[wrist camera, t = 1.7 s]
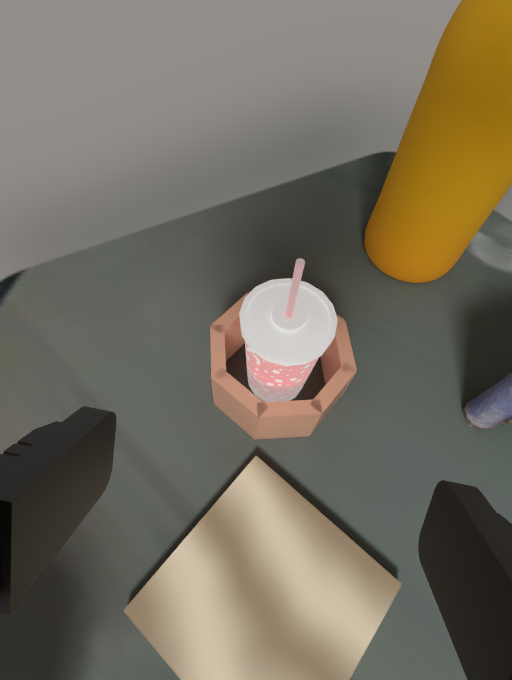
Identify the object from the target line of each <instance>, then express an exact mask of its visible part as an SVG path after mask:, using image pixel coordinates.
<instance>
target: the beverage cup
mask: <svg viewBox="0 0 512 680" xmlns="http://www.w3.org/2000/svg"><path fill="white" fill-rule="evenodd" d="M304 265H305V261H304V259H301V258H298V259H297V260H296V263H295V268H294V273H293V278H292V279H290V278H286V279H273V280H270V281H267V282H265V283H263V284H260V285H258V286H256V287H255V288H254V289H253V290H252V291H251V292H250V293H249V294H248V295H247V296H246V297H245V298H244V301H243V304H242V307H241V310H240V313H239V317H240V326H241V333H242V337H243V338H244V340H245V349H246V362H247V376H248V383H249V387H250V388H251V390H252V391H253V393H254V395H256V396H257V397H258V398H260V399H261V400H263V401H265V402H278V401H290V400H292V399H293V398H295V397H296V396H297V394H298V393H299V392H300V391H301V389H302V387H303V385H304V384H305V382H306V380H307V378H308V376H309V375H310V373H311V371H312V369H313V367H314V366H315V364H316V362H317V360H318V358H319V357H320V356H322V354H323V353H324V352H325V351H326V349H327V348H328V347H329V345H330V344H331V343H332V340H333V339H334V337H335V333H336V327H337V322H338V320H337V316H336V313H335V309H334V306H333V304H332V303H331V302H330V300H329V299H328V298H327V297H326V295H325V294H324V293H323V292H322V291H321V290H319V289H317V288H316V287H314V286H312V285H311V284H309V283H307V282H303V281H301V278H302V273H303V269H304Z"/></svg>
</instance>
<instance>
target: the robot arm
mask: <svg viewBox="0 0 512 680" xmlns="http://www.w3.org/2000/svg"><path fill="white" fill-rule="evenodd" d="M115 430H116V415H115V413H114V412H110V411H105V410H100V409H95V408H90V407H85V406H84V407H81V408H80V409H79V410H77V411H76V412H75V413H73V414H72V415H71V416H69V417H68V418H67V419H66V420H64V421H63V422H57V421H56V422H53V423H51V424H48V425H45V426H43V427H40V428H37V429H34V430H33V431H32V432H30V433H29V434H27V435H26V436H25V437H23V438H22V439H20V440H19V441H18V443H17V444H13V445H12V446H11V447H9V448H8V449H6V450H5V451H4V453H3V454H0V612H1V613H5V614H11V613H12V611H13V610H14V609H15V608H16V606H17V605H18V604H19V602H20V601H21V600H22V598H23V597H24V596H25V594H26V593H27V592H28V591H29V589H30V588H31V587H32V585H33V584H34V583H35V581H36V580H37V579H38V577H39V576H40V575H41V574H42V572H43V571H44V570H45V568H46V567H47V566H48V564H49V563H50V562H51V560H52V559H53V558H54V557H55V555H56V554H57V553H58V551H59V550H60V549H61V547H62V546H63V545H64V543H65V542H66V541H67V540H68V538H69V537H70V536H71V534H72V533H73V532H74V530H75V529H76V528H77V526H78V525H79V524H80V523H81V521H82V520H83V519H84V517H85V516H86V515H87V513H88V512H89V511H90V509H91V508H92V507H93V506H94V504H95V503H96V502H97V500H98V499H99V498H100V496H101V495H102V494H103V492H104V490H105V489H106V487H107V484H108V482H109V479H110V475H111V471H112V464H113V453H114V442H115ZM418 549H419V558H420V562H421V565H422V567H423V570H424V572H425V575H426V577H427V580H428V582H429V585H430V587H431V590H432V592H433V595H434V597H435V600H436V602H437V605H438V607H439V610H440V612H441V615H442V617H443V620H444V622H445V625H446V627H447V630H448V632H449V635H450V637H451V640H452V642H453V645H454V647H455V650H456V652H457V655H458V657H459V660H460V662H461V665H462V667H463V670H464V672H465V674H466V677H467V679H468V680H512V524H511V523H510V522H509V521H507V520H506V519H505V518H504V517H502V516H501V515H500V514H498V513H496V511H495V510H494V509H493V507H492V506H491V505H490V503H489V502H488V501H487V499H486V498H485V497H484V496H483V494H482V493H481V492H480V490H479V489H478V488H476V487H474V486H469V485H464V484H459V483H454V482H449V481H444V480H442V481H440V482H439V483H438V484H437V486H436V488H435V490H434V493H433V496H432V499H431V502H430V505H429V508H428V511H427V514H426V517H425V520H424V523H423V526H422V529H421V532H420V536H419V545H418Z"/></svg>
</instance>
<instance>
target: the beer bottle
mask: <svg viewBox="0 0 512 680" xmlns="http://www.w3.org/2000/svg"><path fill="white" fill-rule="evenodd" d="M511 184H512V0H462V1H461V2H460V4H459V6H458V8H457V9H456V11H455V12H454V14H453V16H452V17H451V20H450V21H449V23H448V25H447V27H446V29H445V31H444V33H443V35H442V37H441V39H440V41H439V44H438V46H437V49H436V51H435V54H434V57H433V60H432V62H431V65H430V68H429V71H428V73H427V76H426V78H425V81H424V84H423V86H422V88H421V91H420V94H419V96H418V99H417V101H416V104H415V106H414V109H413V112H412V114H411V117H410V119H409V122H408V124H407V127H406V130H405V132H404V135H403V137H402V140H401V142H400V145H399V148H398V150H397V152H396V155H395V158H394V160H393V163H392V165H391V168H390V170H389V173H388V176H387V178H386V181H385V183H384V186H383V188H382V191H381V194H380V196H379V199H378V201H377V204H376V206H375V208H374V210H373V213H372V215H371V217H370V219H369V222H368V225H367V227H366V231H365V239H364V244H365V250H366V252H367V255H368V257H369V258H370V260H371V261H372V263H373V264H374V265H375V266H376V267H377V268H378V269H380V270H381V271H382V272H383V273H385V274H387V275H388V276H390V277H393V278H395V279H397V280H401V281H405V282H411V283H424V282H430V281H432V280H435V279H438V278H440V277H441V276H443V275H444V274H446V273H447V272H448V271H449V270H450V269H451V268H452V267H453V266H454V265H455V263H456V262H457V261H458V259H459V258H460V256H461V255H462V253H463V252H464V250H465V249H466V247H467V246H468V244H469V243H470V241H471V240H472V239H473V237H474V236H475V234H476V233H477V232H478V230H479V229H480V227H481V226H482V225H483V223H484V222H485V221H486V219H487V218H488V216H489V215H490V214H491V212H492V211H493V210H494V208H495V207H496V205H497V204H498V202H499V201H500V200H501V198H502V197H503V195H504V194H505V193H506V192H507V190H508V189H509V187H510V186H511Z"/></svg>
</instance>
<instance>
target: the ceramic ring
mask: <svg viewBox="0 0 512 680" xmlns="http://www.w3.org/2000/svg"><path fill="white" fill-rule="evenodd" d="M249 293H250V292H248V293H246V294H245V295H244V296H243V297H242V298H241V299H240V300H239V301H237V302H236V303H235V304H234V305H233V306H232V307H231V308H230V309H229V310H227V311H226V312H225V313H224V314H223V315H222V316H221V317H220V318H218V319H217V320H216V321H215V322H214V323H213V324H212V325H210V332H211V381H212V389H213V397H214V405H216V406H217V407H218V408H219V409H220V410H221V411H222V412H224V413H225V414H226V415H227V416H228V417H229V418H231V419H232V420H233V421H234V422H235V423H236V424H237V425H239V426H240V427H241V428H242V429H243V430H244V431H246V432H247V433H248V434H249V435H250V436H251V437H252V438H254V440H256V439H272V438H288V437H304V436H310V435H311V433H312V432H313V431H314V430H315V428H316V427H317V426H318V425H319V423H320V422H321V421H322V420H323V418H324V417H325V416H326V415H327V413H328V412H329V411H330V410H331V408H332V407H333V406H334V405H335V403H336V402H337V401H338V400H339V399H340V398H341V396H342V394H343V393H344V391H345V390H346V388H347V386H348V385H349V383H350V381H351V380H352V378H353V377H354V375H355V373H356V372H357V369H356V365H355V360H354V356H353V352H352V347H351V343H350V338H349V334H348V330H347V325H346V321H345V320H344V319H342V318H341V317H340V316H338V315H337V314H336V316H337V320H338V322H337V327H336V333H335V337H334V339H333V340H332V343H331V344H330V345H329V347H328V348H327V349H326V351H325V352H324V353H323V354H322V356H320V358H321V364H322V369H323V375H324V381H325V386H324V388H323V389H322V390H321V391H320V392H319V394H318V395H317V396H316V397H315V398H314V399H313V400H296V401H278V402H263V401H261V400H260V399H259V398H258V397H256V396H255V395H254V394H253V393H252V392H250V391H249V390H248V389H247V388H245V387H244V386H243V385H242V384H241V383H239V382H238V381H237V380H236V379H235V378H233V377H232V376H231V375H230V374H228V373H227V372H226V361H227V360H228V359H229V358H230V357H231V356H232V355H233V354H234V353H235V352H236V351H237V350H238V349H239V348H240V347H241V346H242V345H243V344H245V340H244V338H243V337H242V333H241V326H240V317H239V313H240V310H241V307H242V304H243V301H244V298H245V297H246V296H247V295H248V294H249Z"/></svg>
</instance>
